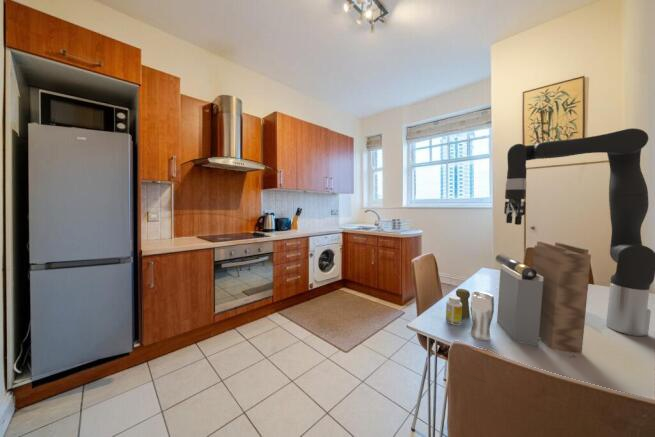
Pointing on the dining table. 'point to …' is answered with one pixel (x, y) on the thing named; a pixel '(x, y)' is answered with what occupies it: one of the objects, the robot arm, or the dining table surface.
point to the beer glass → (481, 314)
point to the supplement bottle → (454, 310)
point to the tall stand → (562, 294)
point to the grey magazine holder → (519, 305)
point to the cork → (464, 301)
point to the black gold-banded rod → (517, 266)
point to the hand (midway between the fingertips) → (513, 223)
